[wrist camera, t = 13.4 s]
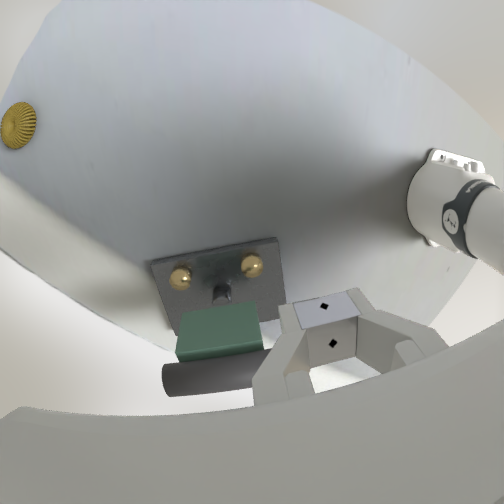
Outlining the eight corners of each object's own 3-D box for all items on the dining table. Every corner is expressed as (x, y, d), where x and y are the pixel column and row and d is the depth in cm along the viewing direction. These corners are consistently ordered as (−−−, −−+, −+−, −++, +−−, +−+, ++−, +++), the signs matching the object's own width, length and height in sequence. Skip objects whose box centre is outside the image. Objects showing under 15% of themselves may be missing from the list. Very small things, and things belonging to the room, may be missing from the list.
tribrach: (275, 237, 45) (284, 254, 39) (285, 310, 51) (293, 335, 45) (153, 260, 45) (142, 281, 39) (177, 329, 51) (172, 354, 44)
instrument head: (264, 290, 40) (281, 362, 27) (269, 323, 43) (286, 396, 30) (173, 306, 40) (158, 379, 27) (185, 337, 43) (176, 410, 30)
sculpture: (-3, 107, 28) (28, 96, 29) (10, 107, 32) (41, 98, 32) (-4, 153, 31) (27, 145, 32) (9, 150, 35) (40, 143, 36)
